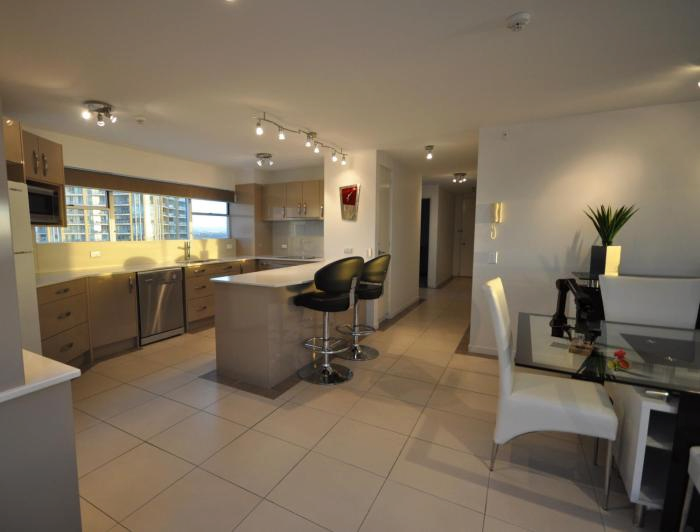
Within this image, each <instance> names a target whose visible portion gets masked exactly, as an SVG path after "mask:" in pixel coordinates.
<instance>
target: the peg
mask: <svg viewBox="0 0 700 532" xmlns="http://www.w3.org/2000/svg"><path fill="white" fill-rule="evenodd" d="M577 340H578V343H577V348H581V349H584V341H585V335H584V334H577Z"/></svg>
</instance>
